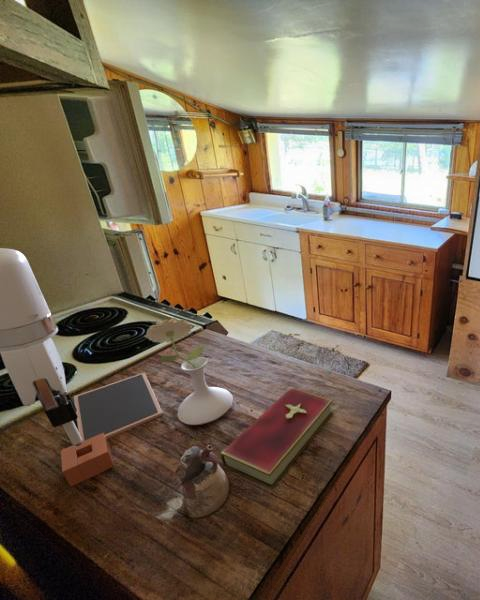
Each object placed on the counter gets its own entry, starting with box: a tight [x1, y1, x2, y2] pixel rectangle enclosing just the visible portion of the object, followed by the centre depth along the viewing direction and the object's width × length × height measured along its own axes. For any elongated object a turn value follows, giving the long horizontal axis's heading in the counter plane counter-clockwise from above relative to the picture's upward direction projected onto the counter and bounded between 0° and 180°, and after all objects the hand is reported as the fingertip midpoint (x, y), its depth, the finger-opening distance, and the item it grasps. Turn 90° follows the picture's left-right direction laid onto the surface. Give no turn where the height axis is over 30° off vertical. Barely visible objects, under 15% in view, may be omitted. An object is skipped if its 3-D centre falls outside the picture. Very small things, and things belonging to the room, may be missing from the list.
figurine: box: [175, 444, 230, 519], centre depth 56 cm, size 7×7×12 cm
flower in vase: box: [144, 317, 234, 426], centre depth 71 cm, size 13×11×25 cm
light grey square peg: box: [55, 395, 82, 446], centre depth 58 cm, size 1×1×12 cm
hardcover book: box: [220, 386, 334, 490], centre depth 70 cm, size 12×21×4 cm, turn 159°
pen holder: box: [60, 433, 115, 487], centre depth 62 cm, size 6×6×4 cm
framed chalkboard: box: [73, 372, 164, 442], centre depth 77 cm, size 14×20×1 cm
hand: (65, 418), depth 58 cm, fingers closed on light grey square peg, 1 cm apart
